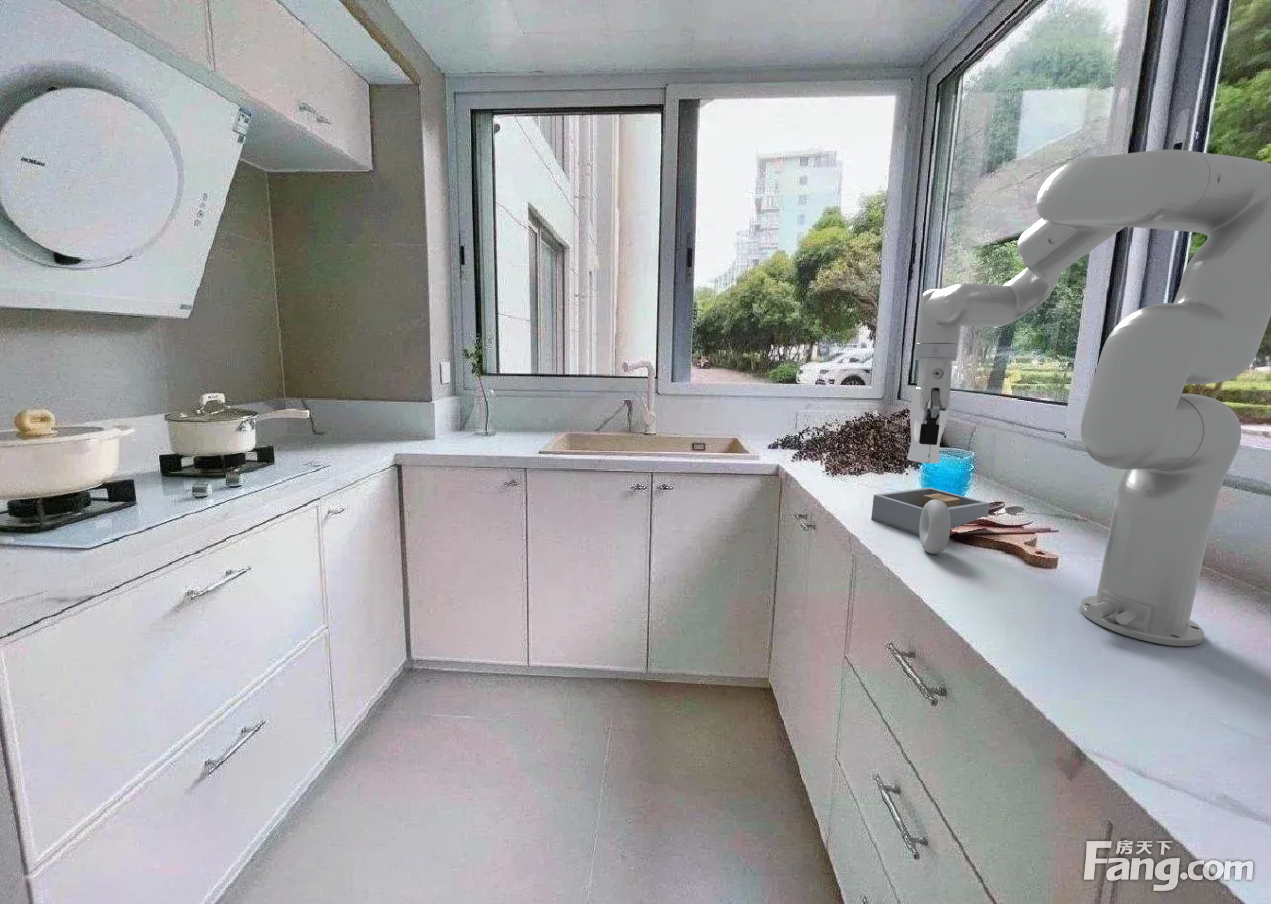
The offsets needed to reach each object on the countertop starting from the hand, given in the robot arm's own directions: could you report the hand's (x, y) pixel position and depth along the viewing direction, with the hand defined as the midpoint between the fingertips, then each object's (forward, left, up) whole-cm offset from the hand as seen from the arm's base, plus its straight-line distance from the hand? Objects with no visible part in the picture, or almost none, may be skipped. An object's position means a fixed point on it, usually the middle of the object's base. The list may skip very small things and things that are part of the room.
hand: (925, 440), depth 114 cm
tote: (+4, 0, -18) cm, 19 cm away
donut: (-11, -12, -19) cm, 25 cm away
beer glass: (0, 0, -4) cm, 4 cm away
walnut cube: (+8, 0, -18) cm, 19 cm away
